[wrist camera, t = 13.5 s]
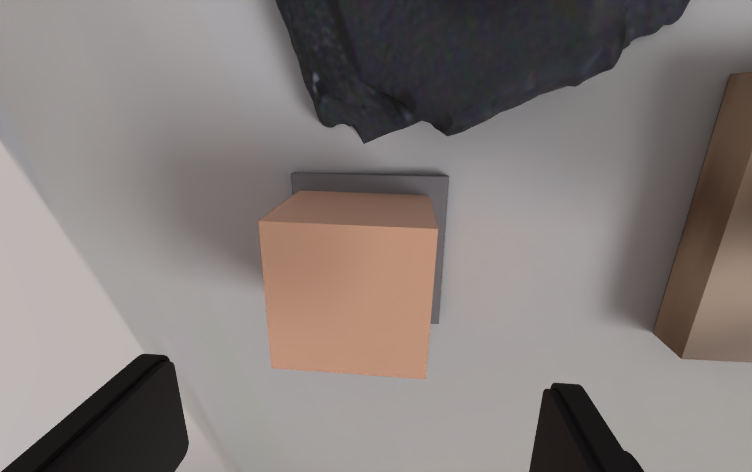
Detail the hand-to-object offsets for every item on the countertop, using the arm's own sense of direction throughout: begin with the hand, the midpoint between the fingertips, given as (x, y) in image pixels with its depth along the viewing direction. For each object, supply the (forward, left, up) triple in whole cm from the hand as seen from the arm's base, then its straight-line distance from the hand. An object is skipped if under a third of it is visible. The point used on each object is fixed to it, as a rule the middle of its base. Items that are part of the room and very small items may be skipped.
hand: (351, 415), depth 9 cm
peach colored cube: (+1, +1, -9) cm, 9 cm away
